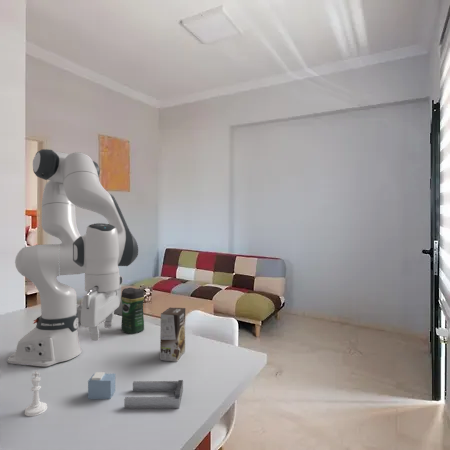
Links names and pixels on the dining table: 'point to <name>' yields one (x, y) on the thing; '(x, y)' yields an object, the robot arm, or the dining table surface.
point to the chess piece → (36, 399)
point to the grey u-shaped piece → (155, 401)
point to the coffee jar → (132, 310)
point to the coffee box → (172, 334)
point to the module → (101, 386)
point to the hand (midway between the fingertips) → (102, 333)
